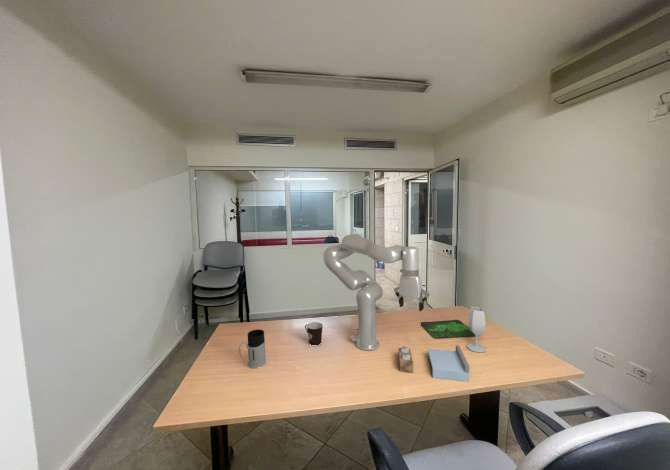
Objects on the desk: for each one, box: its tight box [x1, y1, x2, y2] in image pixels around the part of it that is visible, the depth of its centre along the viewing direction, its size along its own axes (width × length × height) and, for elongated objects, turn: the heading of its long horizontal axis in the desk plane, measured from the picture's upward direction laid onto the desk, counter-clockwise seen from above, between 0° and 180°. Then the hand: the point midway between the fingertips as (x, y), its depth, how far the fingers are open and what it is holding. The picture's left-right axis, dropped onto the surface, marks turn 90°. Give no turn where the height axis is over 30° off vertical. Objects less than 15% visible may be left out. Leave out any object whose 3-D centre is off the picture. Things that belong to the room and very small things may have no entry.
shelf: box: [427, 344, 470, 383], centre depth 118 cm, size 14×17×7 cm
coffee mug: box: [304, 321, 324, 346], centre depth 145 cm, size 12×9×10 cm
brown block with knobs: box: [398, 346, 414, 374], centre depth 122 cm, size 6×12×6 cm, turn 170°
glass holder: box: [238, 329, 267, 369], centre depth 123 cm, size 9×14×15 cm, turn 149°
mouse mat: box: [419, 319, 475, 340], centre depth 157 cm, size 27×22×1 cm
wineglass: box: [466, 306, 487, 353], centre depth 134 cm, size 9×9×21 cm
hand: (411, 308), depth 125 cm, fingers open, 9 cm apart
